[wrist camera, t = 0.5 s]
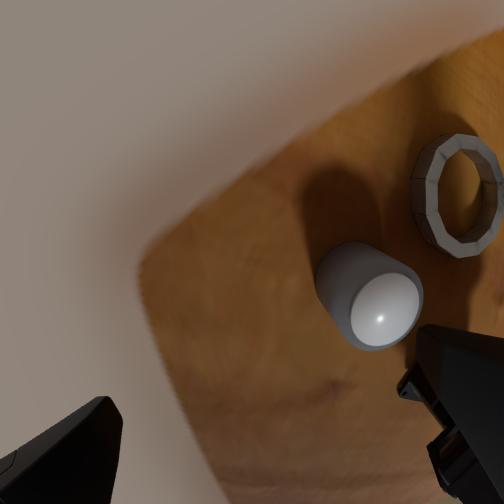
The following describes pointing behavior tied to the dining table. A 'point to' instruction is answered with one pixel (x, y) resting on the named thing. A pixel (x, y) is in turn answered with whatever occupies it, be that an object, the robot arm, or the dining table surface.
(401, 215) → the dining table surface
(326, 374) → the dining table surface
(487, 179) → the barrel ring
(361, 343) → the lens puck
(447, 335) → the robot arm
